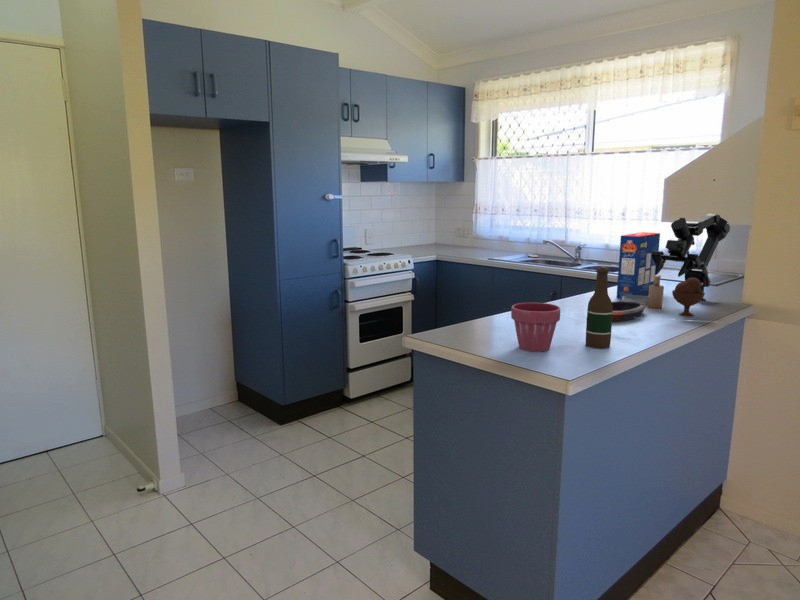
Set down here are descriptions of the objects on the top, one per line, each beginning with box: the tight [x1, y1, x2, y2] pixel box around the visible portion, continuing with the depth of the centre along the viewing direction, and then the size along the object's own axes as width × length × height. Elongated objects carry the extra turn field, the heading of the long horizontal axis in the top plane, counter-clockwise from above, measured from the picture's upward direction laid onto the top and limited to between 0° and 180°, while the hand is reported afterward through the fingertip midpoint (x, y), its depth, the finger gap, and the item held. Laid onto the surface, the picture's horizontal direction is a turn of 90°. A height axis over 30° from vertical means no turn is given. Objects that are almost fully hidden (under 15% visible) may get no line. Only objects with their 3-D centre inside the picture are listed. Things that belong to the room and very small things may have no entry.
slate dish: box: [621, 295, 648, 306], centre depth 244 cm, size 12×12×3 cm
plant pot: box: [510, 301, 561, 353], centre depth 174 cm, size 14×14×13 cm
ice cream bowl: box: [671, 278, 706, 318], centre depth 218 cm, size 11×11×15 cm
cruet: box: [648, 274, 665, 310], centre depth 232 cm, size 5×5×13 cm
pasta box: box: [616, 232, 661, 299], centre depth 262 cm, size 28×8×28 cm, turn 140°
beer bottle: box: [585, 267, 613, 350], centre depth 175 cm, size 8×8×24 cm
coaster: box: [645, 306, 666, 311], centre depth 233 cm, size 7×7×1 cm
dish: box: [611, 300, 646, 322], centre depth 219 cm, size 16×31×5 cm, turn 129°
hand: (667, 274), depth 236 cm, fingers open, 9 cm apart
